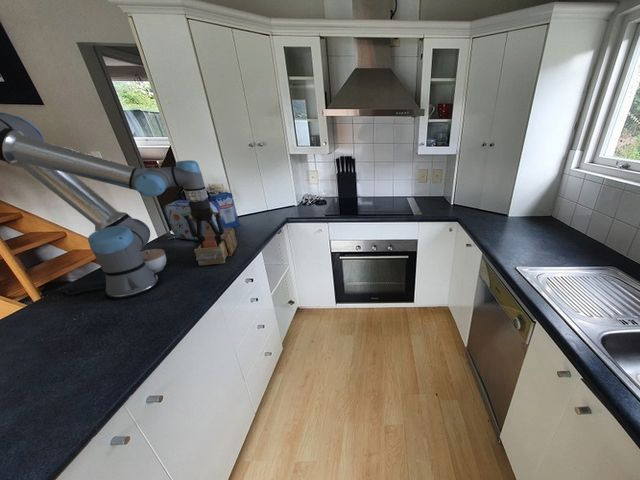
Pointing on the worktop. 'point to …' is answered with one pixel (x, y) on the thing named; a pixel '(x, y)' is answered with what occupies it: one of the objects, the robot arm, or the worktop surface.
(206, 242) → the block
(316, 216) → the worktop surface
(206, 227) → the lunch box
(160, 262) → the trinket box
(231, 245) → the cabinet
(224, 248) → the drawer
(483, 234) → the worktop surface
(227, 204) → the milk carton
